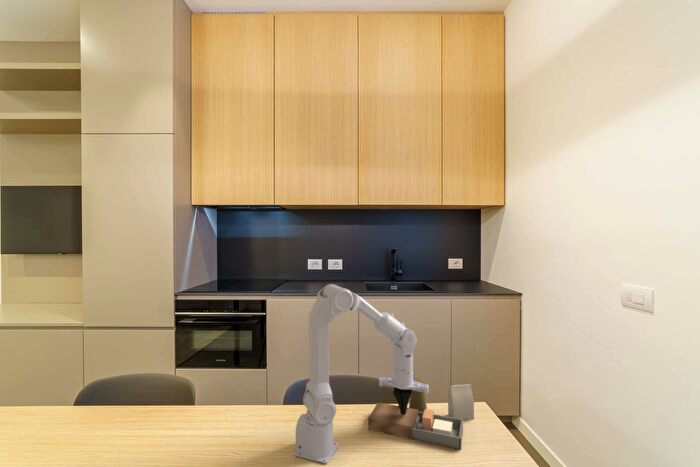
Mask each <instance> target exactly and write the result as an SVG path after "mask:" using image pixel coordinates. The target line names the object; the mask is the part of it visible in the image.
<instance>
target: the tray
mask: <svg viewBox="0 0 700 467" xmlns="http://www.w3.org/2000/svg"><path fill="white" fill-rule="evenodd" d="M423 414H424V412H420V411H418V418H417V420H416V423H415V426H414V428H412V439H411V440H413V441H417V442H418V441H419V442H423V443H427V444H433V445H435V446H436V445H438V446H442V447H446V448H451V449H456V450H460V451H461V450H462V445H463V444H462V442H463V436H464V434H463V432H464V420H463V419H458V418H453V417H450V416H447V415H443V414H442V415H441V414H435V413H434V420H435V419H438V420H443V421H449V422H453V431H452V436H451V435H446V434H441V433H436V432H431V431H426V430H423V427H422V417H423Z"/></svg>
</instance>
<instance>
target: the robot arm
mask: <svg viewBox="0 0 700 467" xmlns="http://www.w3.org/2000/svg"><path fill="white" fill-rule="evenodd" d="M348 311H352V312H353V311H357V312H359V313H360V314H361V315H363V316H364V317H365V318H368V319H369V320H370V321H371V322H373V326H374V328H375V330H377V331H378V332H379V333H381V334H382V335H383V336H385V338H388V340H389V341H390V342H391V343H393V377H380V378H379V379H378V386H379V387H390V388H393V390H392V394H393V396H394V398H395V399H396V402H397V404H398V405H397V406H399V408H400V413H401V414H402V415H405V414H406V412H407V408H408V407H409V403H410V396H411V394H412V392H413V391H419V392H424V394H425V395H428V394H429V390H430V389H429V387H430V386H429V384H427V383H426V384H423V383H420V382H417V381H414V380H413V378H414V353H415V350H414V349H415V346H416V345H417V341H418V338H417V336H416V333H415V331H414V330H412V329H411V328H407V326H405V323H404V322H402V321H399V320H398V319H397V318H395V317H394V316H395V315H394V313H391V312H387V311H384V312H379V310H378V309H376V308H375V307H374V306H372V305H371V304H370V303H369V302H368V301H367V300H365V299H364V298H363V297H361V296H360V295H358V294H356V293H355V292H352V291H351V290H350V289H348V288H345V287H341V286H338V285H337V284H335V283H330V284H326V285H325V286H324V287H323V288H321V289H320V290H319V291H318V292H317V297H316V300H315V302H314V303H313V306H312V308H311V310H310V312H309V314H308V361H309V362H308V366H309V368H308V373H309V374H308V376H309V381H308V382H306V384H305V386H306V387H305V392H304V394H303V398H302V402H303V405H304V407H305V408H306V413H302V414H300V415H299V417H298V419H297V422H296V426H295V452H294V453H293V454H294V456H295V457H299V458H303V459H307V460H310V461H314V462H318V463H322V464H328V463H329V461H330V459H332V457H333V455H334V454H335V453H336V451H337V449H339V446H340V444H339V443H337V442H334V427H333V426H334V418H335V417H336V413H337V406H336V404H335V402H334V399H333V398H334V397H333V391H332V388H331V386H330V351H329V348H330V346H329V324H330V323H331V322H332V321H333V320H335V318H337V317H339V316H341V315H343V314H344V313H346V312H348Z"/></svg>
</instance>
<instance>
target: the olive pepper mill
mask: <svg viewBox="0 0 700 467" xmlns="http://www.w3.org/2000/svg"><path fill="white" fill-rule="evenodd" d="M413 380H414V381H417V382H420V383H423V384H427V382H426V381H425V379H424V378H422V377H416V376H415V377H413ZM408 408H412V409H418V410H419V411H420V412H424V411H425V409H428V407H427V399H426V394H424V392H419V391H413V392H412V394H411V396H410V399H409V403H408Z"/></svg>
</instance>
